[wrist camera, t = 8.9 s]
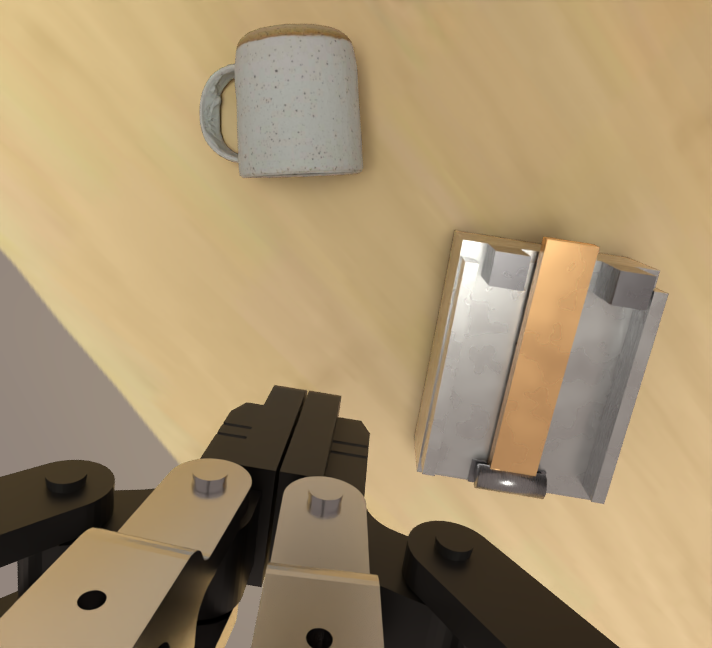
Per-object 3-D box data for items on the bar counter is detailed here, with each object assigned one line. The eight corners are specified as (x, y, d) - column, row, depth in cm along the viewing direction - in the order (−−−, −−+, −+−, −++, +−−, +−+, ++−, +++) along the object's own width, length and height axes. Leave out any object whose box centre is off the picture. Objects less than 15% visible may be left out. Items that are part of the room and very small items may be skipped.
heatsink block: (454, 230, 40) (469, 246, 32) (627, 257, 40) (683, 280, 32) (414, 437, 45) (418, 495, 37) (569, 463, 44) (606, 526, 37)
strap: (531, 234, 34) (537, 239, 33) (605, 246, 34) (615, 251, 33) (472, 479, 39) (475, 492, 38) (537, 489, 39) (542, 503, 38)
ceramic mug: (359, 41, 37) (348, 12, 30) (367, 172, 39) (358, 175, 32) (199, 55, 38) (150, 30, 31) (215, 183, 40) (173, 188, 33)
